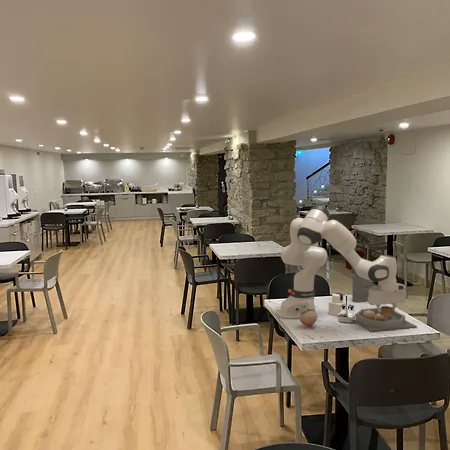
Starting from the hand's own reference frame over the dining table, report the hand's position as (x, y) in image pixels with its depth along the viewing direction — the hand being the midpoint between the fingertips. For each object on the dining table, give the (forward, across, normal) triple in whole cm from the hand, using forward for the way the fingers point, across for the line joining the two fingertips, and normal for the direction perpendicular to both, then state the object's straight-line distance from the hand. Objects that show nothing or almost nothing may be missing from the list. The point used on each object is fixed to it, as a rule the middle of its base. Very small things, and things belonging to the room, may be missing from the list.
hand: (386, 311), depth 235 cm
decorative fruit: (+8, -40, +8) cm, 41 cm away
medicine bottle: (+8, -16, +24) cm, 30 cm away
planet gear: (+2, 0, 0) cm, 2 cm away
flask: (+8, +12, +46) cm, 48 cm away
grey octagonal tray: (+7, 0, +6) cm, 10 cm away
